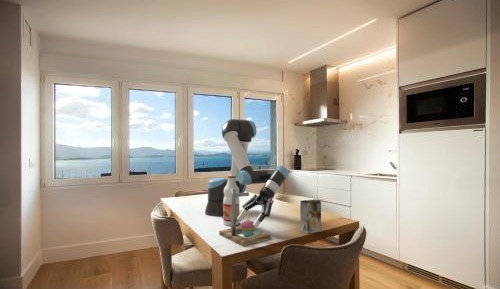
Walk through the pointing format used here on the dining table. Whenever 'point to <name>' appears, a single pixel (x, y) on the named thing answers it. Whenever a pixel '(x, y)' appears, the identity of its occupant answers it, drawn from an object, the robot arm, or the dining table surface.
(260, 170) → the robot arm
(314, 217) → the coffee box
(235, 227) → the hook post
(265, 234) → the wooden u-shaped base
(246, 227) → the cupcake
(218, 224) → the dining table surface
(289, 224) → the dining table surface
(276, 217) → the dining table surface
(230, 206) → the fruit juice
